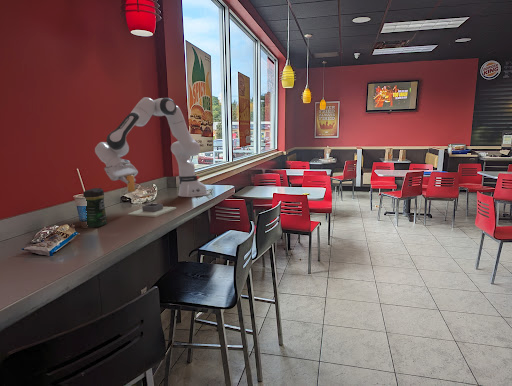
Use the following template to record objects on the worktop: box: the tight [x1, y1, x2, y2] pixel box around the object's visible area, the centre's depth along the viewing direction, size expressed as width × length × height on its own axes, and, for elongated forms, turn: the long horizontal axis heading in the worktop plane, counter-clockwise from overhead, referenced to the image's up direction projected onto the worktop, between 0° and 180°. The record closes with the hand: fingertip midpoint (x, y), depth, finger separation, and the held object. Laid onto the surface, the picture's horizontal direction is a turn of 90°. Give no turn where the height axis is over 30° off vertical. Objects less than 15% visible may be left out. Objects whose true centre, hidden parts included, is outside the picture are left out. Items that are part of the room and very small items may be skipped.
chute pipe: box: [125, 175, 136, 193], centre depth 195 cm, size 4×4×9 cm
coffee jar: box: [82, 187, 108, 229], centre depth 165 cm, size 10×8×19 cm
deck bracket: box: [127, 202, 177, 218], centre depth 192 cm, size 18×20×4 cm
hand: (131, 182), depth 194 cm, fingers closed on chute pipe, 4 cm apart
